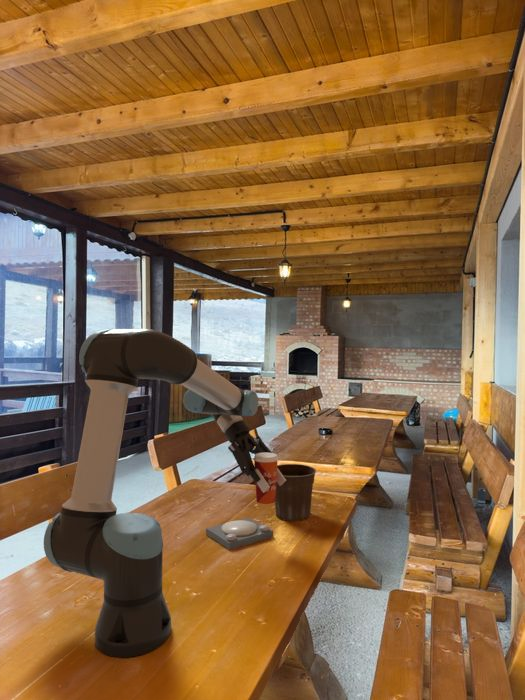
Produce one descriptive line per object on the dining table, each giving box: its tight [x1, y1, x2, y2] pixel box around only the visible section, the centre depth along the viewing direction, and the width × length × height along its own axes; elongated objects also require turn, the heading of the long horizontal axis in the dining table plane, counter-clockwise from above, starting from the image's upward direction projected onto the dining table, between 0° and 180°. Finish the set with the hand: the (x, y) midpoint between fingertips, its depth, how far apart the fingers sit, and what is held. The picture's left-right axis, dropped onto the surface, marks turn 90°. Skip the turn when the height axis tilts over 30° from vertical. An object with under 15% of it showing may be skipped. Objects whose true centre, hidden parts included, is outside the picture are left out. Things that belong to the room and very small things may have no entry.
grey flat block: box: [205, 517, 274, 551], centre depth 147 cm, size 16×14×3 cm
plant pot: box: [274, 463, 317, 522], centre depth 165 cm, size 16×16×16 cm
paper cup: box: [252, 452, 279, 505], centre depth 142 cm, size 8×8×14 cm
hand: (275, 486), depth 140 cm, fingers closed on paper cup, 8 cm apart
